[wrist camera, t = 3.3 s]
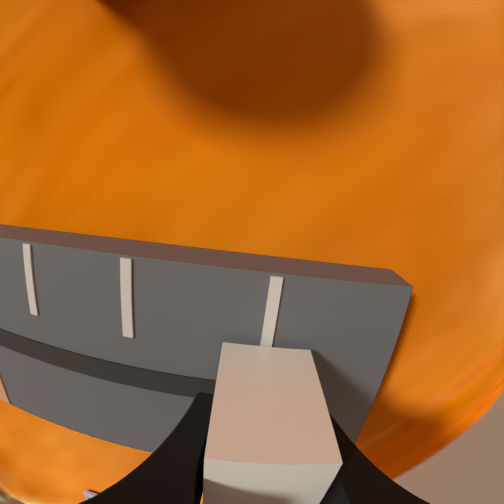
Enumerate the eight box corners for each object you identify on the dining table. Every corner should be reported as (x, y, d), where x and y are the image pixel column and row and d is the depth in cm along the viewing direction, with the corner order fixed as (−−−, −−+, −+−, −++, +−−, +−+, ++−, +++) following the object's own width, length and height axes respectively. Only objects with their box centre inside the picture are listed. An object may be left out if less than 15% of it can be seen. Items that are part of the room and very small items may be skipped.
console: (335, 439, 15) (342, 467, 13) (-41, 353, 14) (-57, 366, 12) (391, 269, 12) (414, 288, 10) (-67, 216, 11) (-89, 223, 9)
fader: (285, 442, 12) (294, 540, 7) (214, 437, 12) (202, 536, 7) (310, 349, 10) (342, 462, 6) (222, 342, 10) (204, 458, 5)
